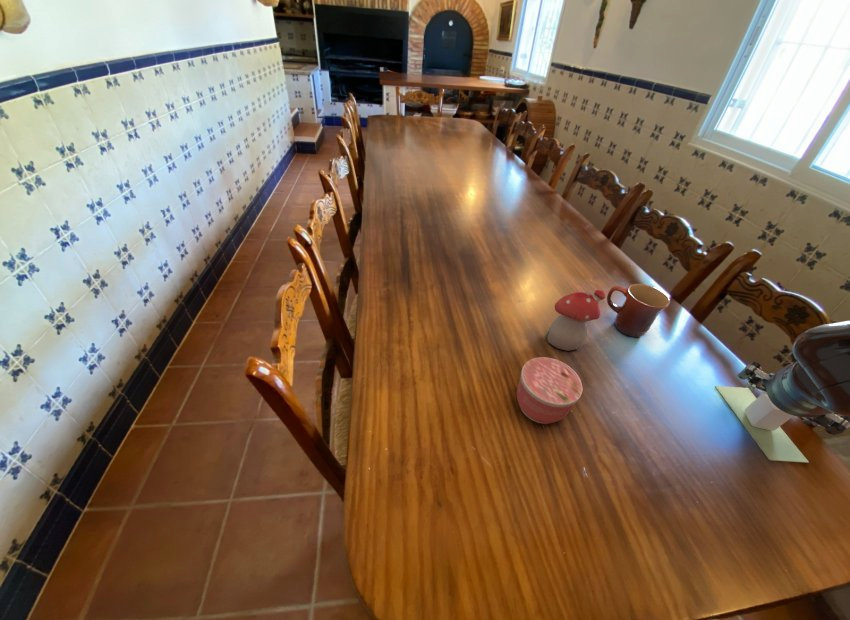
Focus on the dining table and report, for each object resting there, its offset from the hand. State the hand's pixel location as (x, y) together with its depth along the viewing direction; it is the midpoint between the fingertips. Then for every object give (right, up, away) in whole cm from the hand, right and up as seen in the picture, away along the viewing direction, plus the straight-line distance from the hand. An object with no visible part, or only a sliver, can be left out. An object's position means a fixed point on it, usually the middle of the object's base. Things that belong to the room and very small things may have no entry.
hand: (780, 401), depth 65 cm
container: (-44, -2, +2) cm, 44 cm away
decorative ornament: (-34, +9, +16) cm, 39 cm away
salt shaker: (-2, -5, +3) cm, 6 cm away
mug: (-17, +13, +22) cm, 31 cm away
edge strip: (-2, -5, +3) cm, 6 cm away
